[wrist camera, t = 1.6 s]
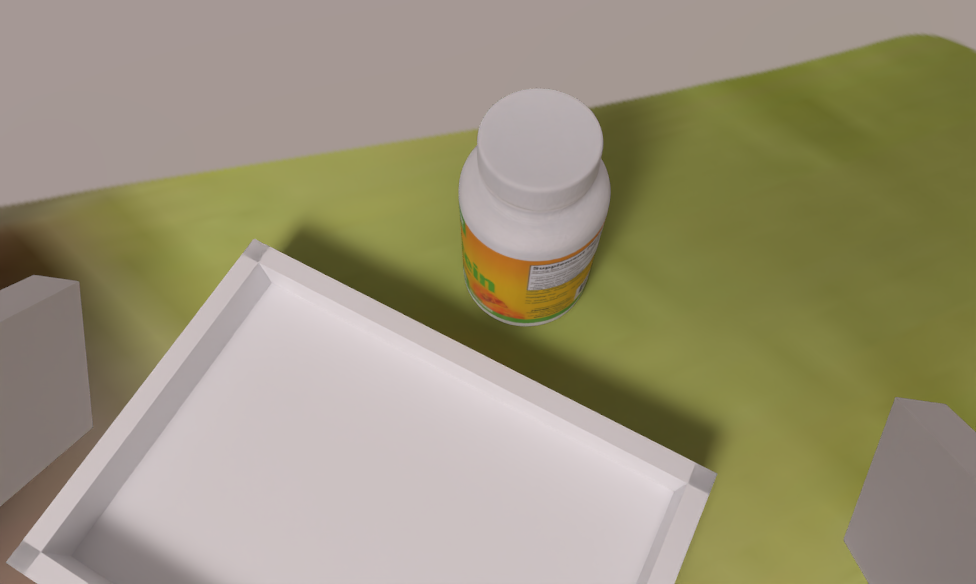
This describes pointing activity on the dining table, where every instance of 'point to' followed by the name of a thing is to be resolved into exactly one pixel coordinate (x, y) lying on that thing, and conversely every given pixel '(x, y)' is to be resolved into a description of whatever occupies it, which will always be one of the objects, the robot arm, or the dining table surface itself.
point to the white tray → (356, 460)
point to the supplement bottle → (532, 206)
